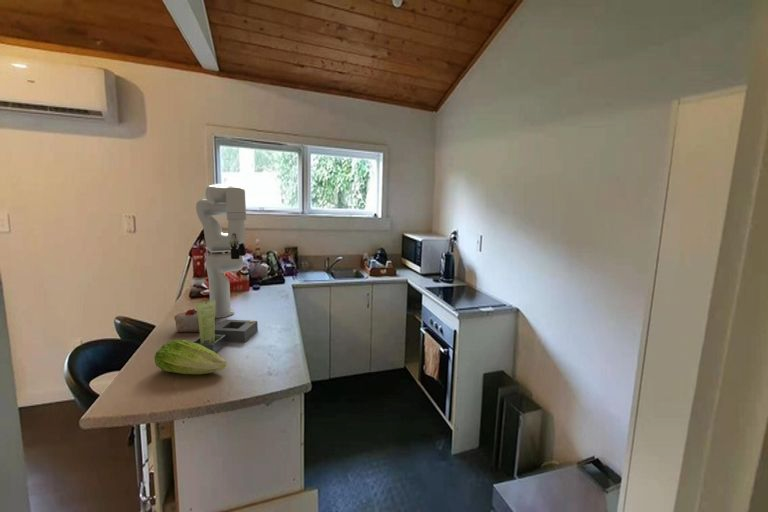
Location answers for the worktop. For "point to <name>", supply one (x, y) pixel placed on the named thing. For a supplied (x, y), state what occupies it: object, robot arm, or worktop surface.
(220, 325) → the port block
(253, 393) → the worktop surface
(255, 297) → the worktop surface
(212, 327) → the tube
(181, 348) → the lettuce
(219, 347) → the gray square frame
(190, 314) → the food item
